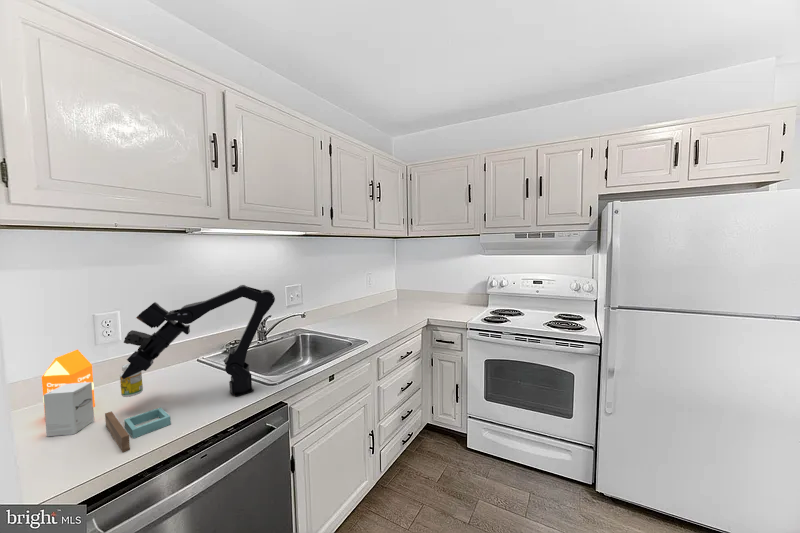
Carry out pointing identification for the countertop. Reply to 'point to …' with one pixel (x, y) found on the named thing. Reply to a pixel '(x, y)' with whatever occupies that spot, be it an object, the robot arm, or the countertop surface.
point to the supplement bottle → (131, 383)
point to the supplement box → (68, 408)
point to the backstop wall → (117, 431)
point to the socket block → (149, 426)
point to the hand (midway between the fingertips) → (125, 374)
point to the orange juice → (67, 372)
